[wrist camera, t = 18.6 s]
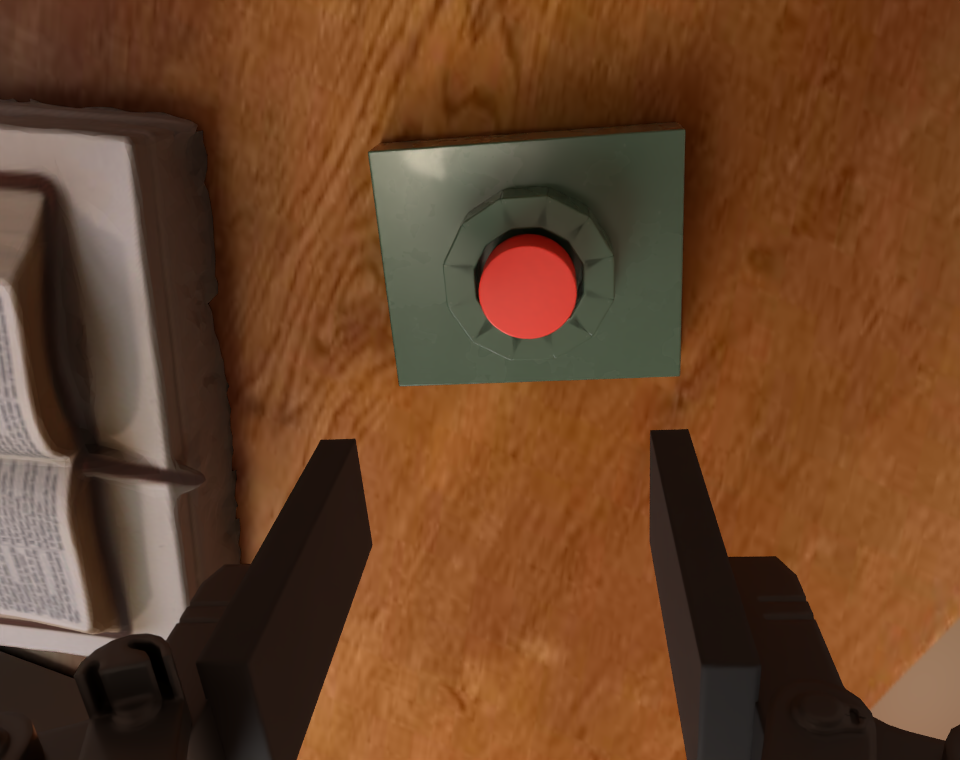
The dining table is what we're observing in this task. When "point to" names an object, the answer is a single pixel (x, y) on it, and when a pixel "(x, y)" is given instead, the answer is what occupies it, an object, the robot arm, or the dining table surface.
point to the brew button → (528, 286)
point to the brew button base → (543, 211)
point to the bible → (107, 378)
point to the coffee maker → (39, 694)
